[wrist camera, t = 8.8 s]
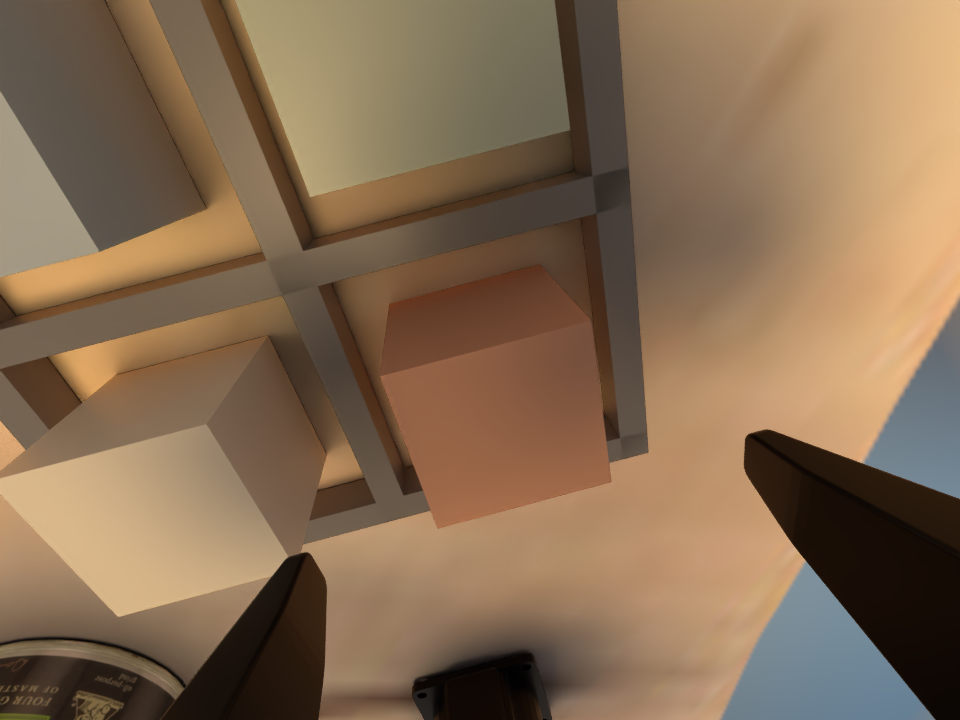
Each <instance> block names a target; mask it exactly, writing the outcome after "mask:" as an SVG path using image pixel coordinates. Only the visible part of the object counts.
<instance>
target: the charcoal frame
mask: <svg viewBox="0 0 960 720" xmlns="http://www.w3.org/2000/svg"><path fill="white" fill-rule="evenodd" d="M149 1H150V3H151V5H152V8H153V10H154V12H155V14H156V17H157V19H158V21H159V23H160V25H161V28H162V30H163V32H164V34H165V36H166V39H167V41H168V43H169V45H170V48H171V50H172V52H173V54H174V56H175V59H176V61H177V63H178V65H179V67H180V70H181V72H182V74H183V76H184V79H185V81H186V83H187V85H188V87H189V90H190V92H191V94H192V96H193V98H194V101H195V103H196V105H197V107H198V110H199V112H200V114H201V116H202V118H203V121H204V123H205V125H206V127H207V129H208V132H209V134H210V136H211V138H212V141H213V143H214V145H215V147H216V149H217V152H218V154H219V156H220V158H221V160H222V163H223V165H224V167H225V169H226V172H227V174H228V176H229V178H230V180H231V183H232V185H233V187H234V189H235V191H236V194H237V196H238V198H239V200H240V203H241V205H242V207H243V209H244V211H245V214H246V216H247V218H248V220H249V222H250V225H251V227H252V229H253V231H254V234H255V236H256V238H257V240H258V242H259V245H260V247H261V249H262V251H263V252H262V253H259V254H255V255H251V256H247V257H243V258H239V259H236V260H232V261H228V262H224V263H220V264H216V265H212V266H209V267H205V268H201V269H197V270H193V271H189V272H185V273H182V274H178V275H174V276H170V277H166V278H162V279H158V280H155V281H151V282H147V283H143V284H139V285H135V286H131V287H128V288H124V289H120V290H116V291H112V292H108V293H104V294H101V295H97V296H93V297H89V298H85V299H81V300H77V301H74V302H70V303H66V304H62V305H58V306H54V307H50V308H47V309H43V310H39V311H35V312H31V313H27V314H23V315H20V316H15V315H14V313H13V312H12V311H11V310H10V308H9V307H8V306H7V304H6V303H5V302H4V300H3V299H2V298H1V296H0V421H1V422H2V423H3V424H4V425H5V427H6V428H7V429H8V430H9V431H10V432H11V433H12V435H13V436H14V437H15V438H16V439H17V440H18V441H19V443H20V444H21V445H22V446H23V447H24V448H25V449H26V450H25V451H24V452H23V453H22V454H21V455H19V456H18V457H17V458H16V459H15V460H13V461H12V462H11V463H10V464H9V465H7V466H6V467H5V468H4V469H3V470H1V471H0V494H1V495H2V497H3V498H4V499H5V500H6V501H7V502H8V503H9V504H10V505H11V506H12V507H13V508H14V509H15V510H16V511H17V512H18V513H19V514H20V515H21V516H22V517H23V518H24V519H25V520H26V522H27V523H28V524H29V525H30V526H31V527H32V528H33V529H34V530H35V531H36V532H37V533H38V534H39V535H40V536H41V537H42V538H43V539H44V540H45V541H46V542H47V543H48V544H49V546H50V547H51V548H52V549H53V550H54V551H55V552H56V553H57V554H58V555H59V556H60V557H61V558H62V559H63V560H64V561H65V562H66V563H67V564H68V565H69V566H70V567H71V568H72V569H73V571H74V572H75V573H76V574H77V575H78V576H79V577H80V578H81V579H82V580H83V581H84V582H85V583H86V584H87V585H88V586H89V587H90V588H91V589H92V590H93V591H94V592H95V593H96V594H97V596H98V597H99V598H100V599H101V600H102V601H103V602H104V603H105V604H106V605H107V606H108V607H109V608H110V609H111V610H112V611H113V612H114V613H115V614H116V615H117V616H118V617H120V616H124V615H128V614H131V613H135V612H139V611H143V610H146V609H150V608H154V607H158V606H161V605H165V604H169V603H172V602H176V601H180V600H184V599H187V598H191V597H195V596H199V595H202V594H206V593H210V592H214V591H217V590H221V589H225V588H229V587H232V586H236V585H240V584H244V583H247V582H251V581H255V580H259V579H262V578H266V577H270V576H273V574H274V573H275V572H276V570H277V569H278V568H279V567H280V565H281V564H282V563H283V561H284V560H285V559H286V558H288V557H290V556H293V555H297V554H300V553H301V550H302V546H303V544H307V543H310V542H314V541H318V540H322V539H325V538H329V537H333V536H337V535H340V534H344V533H348V532H352V531H355V530H359V529H363V528H367V527H370V526H374V525H378V524H382V523H386V522H389V521H393V520H397V519H401V518H404V517H408V516H412V515H416V514H419V513H423V512H427V511H431V510H430V507H429V505H428V502H427V499H426V497H425V494H424V491H423V489H422V486H421V484H420V481H419V478H418V476H417V473H416V470H415V468H414V466H411V467H407V468H404V467H403V464H402V462H401V459H400V456H399V454H398V451H397V449H396V446H395V444H394V441H393V439H392V436H391V434H390V431H389V429H388V426H387V423H386V421H385V418H384V416H383V413H382V411H381V408H380V406H379V403H378V401H377V398H376V396H375V393H374V390H373V388H372V385H371V383H370V380H369V378H368V375H367V373H366V370H365V368H364V365H363V363H362V360H361V357H360V355H359V352H358V350H357V347H356V345H355V342H354V340H353V337H352V335H351V332H350V330H349V327H348V325H347V322H346V319H345V317H344V314H343V312H342V309H341V307H340V304H339V302H338V299H337V297H336V294H335V292H334V289H333V286H332V284H331V283H332V282H336V281H339V280H343V279H347V278H351V277H355V276H359V275H362V274H366V273H370V272H374V271H378V270H382V269H385V268H389V267H393V266H397V265H401V264H405V263H408V262H412V261H416V260H420V259H424V258H428V257H431V256H435V255H439V254H443V253H447V252H451V251H454V250H458V249H462V248H466V247H470V246H474V245H478V244H481V243H485V242H489V241H493V240H497V239H501V238H504V237H508V236H512V235H516V234H520V233H524V232H527V231H531V230H535V229H539V228H543V227H547V226H550V225H554V224H558V223H562V222H566V221H570V220H573V219H577V218H581V222H582V231H583V239H584V247H585V255H586V264H587V272H588V280H589V288H590V297H591V305H592V313H593V322H594V330H595V338H596V346H597V355H598V363H599V371H600V379H601V388H602V396H603V404H604V412H605V415H603V418H604V426H605V434H606V442H607V450H608V458H609V463H611V462H614V461H618V460H622V459H626V458H629V457H633V456H637V455H641V454H644V453H648V438H647V424H646V409H645V395H644V381H643V367H642V352H641V338H640V324H639V310H638V295H637V281H636V267H635V253H634V239H633V224H632V210H631V196H630V182H629V167H628V153H627V139H626V125H625V110H624V96H623V82H622V68H621V53H620V39H619V25H618V11H617V0H235V2H236V5H237V7H238V10H239V12H240V15H241V18H242V20H243V23H244V26H245V28H246V31H247V33H248V36H249V39H250V41H251V44H252V46H253V49H254V52H255V54H256V57H257V60H258V62H259V65H260V67H261V70H262V73H263V75H264V78H265V81H266V83H267V86H268V88H269V91H270V94H271V96H272V99H273V101H274V104H275V107H276V109H277V112H278V115H279V117H280V120H281V122H282V125H283V128H284V130H285V133H286V136H287V138H288V141H289V143H290V146H291V149H292V151H293V154H294V157H295V159H296V162H297V164H298V167H299V170H300V172H301V175H302V177H303V180H304V183H305V185H306V188H307V191H308V193H309V196H310V197H313V196H317V195H321V194H325V193H329V192H333V191H337V190H340V189H344V188H348V187H352V186H356V185H360V184H364V183H368V182H371V181H375V180H379V179H383V178H387V177H391V176H395V175H399V174H402V173H406V172H410V171H414V170H418V169H422V168H426V167H429V166H433V165H437V164H441V163H445V162H449V161H453V160H457V159H460V158H464V157H468V156H472V155H476V154H480V153H484V152H488V151H491V150H495V149H499V148H503V147H507V146H511V145H515V144H518V143H522V142H526V141H530V140H534V139H538V138H542V137H546V136H549V135H553V134H557V133H561V132H565V131H569V130H570V131H571V140H572V148H573V156H574V164H575V172H571V173H567V174H563V175H559V176H556V177H552V178H548V179H544V180H540V181H536V182H532V183H529V184H525V185H521V186H517V187H513V188H509V189H505V190H502V191H498V192H494V193H490V194H486V195H482V196H478V197H475V198H471V199H467V200H463V201H459V202H455V203H451V204H448V205H444V206H440V207H436V208H432V209H428V210H424V211H421V212H417V213H413V214H409V215H405V216H401V217H397V218H394V219H390V220H386V221H382V222H378V223H374V224H370V225H367V226H363V227H359V228H355V229H351V230H347V231H343V232H340V233H336V234H332V235H328V236H324V237H320V238H316V239H314V238H313V236H312V233H311V231H310V228H309V226H308V223H307V220H306V218H305V215H304V213H303V210H302V208H301V205H300V203H299V200H298V198H297V195H296V193H295V190H294V187H293V185H292V182H291V180H290V177H289V175H288V172H287V170H286V167H285V165H284V162H283V160H282V157H281V154H280V152H279V149H278V147H277V144H276V142H275V139H274V137H273V134H272V132H271V129H270V127H269V124H268V122H267V119H266V116H265V114H264V111H263V109H262V106H261V104H260V101H259V99H258V96H257V94H256V91H255V89H254V86H253V83H252V81H251V78H250V76H249V73H248V71H247V68H246V66H245V63H244V61H243V58H242V56H241V53H240V50H239V48H238V45H237V43H236V40H235V38H234V35H233V33H232V30H231V28H230V25H229V23H228V20H227V17H226V15H225V12H224V10H223V7H222V5H221V2H220V0H149ZM555 7H556V8H555ZM557 24H558V25H557ZM558 32H559V33H558ZM559 40H560V41H559ZM560 49H561V50H560ZM561 57H562V58H561ZM562 65H563V66H562ZM563 73H564V74H563ZM564 82H565V83H564ZM565 90H566V91H565ZM566 98H567V99H566ZM568 115H569V116H568ZM569 123H570V124H569ZM203 210H206V207H205V205H204V203H203V201H202V199H201V197H200V195H199V193H198V191H197V189H196V187H195V185H194V183H193V181H192V179H191V177H190V175H189V172H188V170H187V168H186V166H185V164H184V162H183V160H182V158H181V156H180V154H179V152H178V150H177V148H176V146H175V144H174V142H173V140H172V138H171V136H170V134H169V131H168V129H167V127H166V125H165V123H164V121H163V119H162V117H161V115H160V113H159V111H158V109H157V107H156V105H155V103H154V101H153V99H152V97H151V95H150V93H149V91H148V88H147V86H146V84H145V82H144V80H143V78H142V76H141V74H140V72H139V70H138V68H137V66H136V64H135V62H134V60H133V58H132V56H131V54H130V52H129V50H128V47H127V45H126V43H125V41H124V39H123V37H122V35H121V33H120V31H119V29H118V27H117V25H116V23H115V21H114V19H113V17H112V15H111V13H110V11H109V9H108V7H107V4H106V2H105V0H0V277H4V276H8V275H11V274H15V273H19V272H23V271H27V270H31V269H35V268H39V267H42V266H46V265H50V264H54V263H58V262H62V261H66V260H69V259H73V258H77V257H81V256H85V255H89V254H93V253H97V252H100V251H103V250H105V249H108V248H110V247H113V246H115V245H118V244H120V243H123V242H125V241H128V240H130V239H133V238H135V237H138V236H140V235H143V234H145V233H148V232H150V231H153V230H155V229H158V228H160V227H163V226H165V225H168V224H170V223H173V222H176V221H178V220H181V219H183V218H186V217H188V216H191V215H193V214H196V213H198V212H201V211H203ZM278 296H283V298H284V300H285V302H286V304H287V307H288V309H289V311H290V313H291V315H292V318H293V320H294V322H295V324H296V327H297V329H298V331H299V333H300V335H301V338H302V340H303V342H304V344H305V346H306V349H307V351H308V353H309V355H310V358H311V360H312V362H313V364H314V366H315V369H316V371H317V373H318V375H319V377H320V380H321V382H322V384H323V386H324V389H325V391H326V393H327V395H328V397H329V400H330V402H331V404H332V406H333V408H334V411H335V413H336V415H337V417H338V420H339V422H340V424H341V426H342V428H343V431H344V433H345V435H346V437H347V439H348V442H349V444H350V446H351V448H352V451H353V453H354V455H355V457H356V459H357V462H358V464H359V466H360V468H361V470H362V473H363V475H364V477H365V479H362V480H358V481H355V482H351V483H347V484H343V485H339V486H336V487H332V488H328V489H324V490H321V491H317V489H318V485H319V482H320V478H321V474H322V470H323V467H324V463H325V459H326V453H325V451H324V449H323V447H322V445H321V443H320V441H319V439H318V437H317V435H316V433H315V431H314V429H313V427H312V424H311V422H310V420H309V418H308V416H307V414H306V412H305V410H304V408H303V406H302V404H301V402H300V400H299V398H298V396H297V394H296V392H295V390H294V388H293V386H292V383H291V381H290V379H289V377H288V375H287V373H286V371H285V369H284V367H283V365H282V363H281V361H280V359H279V357H278V355H277V353H276V351H275V349H274V347H273V345H272V343H271V340H270V338H269V336H264V337H260V338H257V339H253V340H249V341H245V342H241V343H237V344H234V345H230V346H226V347H222V348H218V349H215V350H211V351H207V352H203V353H199V354H195V355H192V356H188V357H184V358H180V359H176V360H172V361H169V362H165V363H161V364H157V365H153V366H149V367H146V368H142V369H138V370H134V371H130V372H127V373H123V374H119V375H115V376H114V377H113V378H112V379H110V380H109V381H108V382H107V383H106V384H104V385H103V386H102V387H101V388H100V389H98V390H97V391H96V392H95V393H94V394H92V395H91V396H90V397H89V398H88V399H87V400H85V401H84V402H83V403H82V404H81V402H80V401H79V400H78V398H77V397H76V396H75V394H74V393H73V392H72V390H71V389H70V388H69V386H68V385H67V384H66V382H65V381H64V380H63V378H62V377H61V376H60V374H59V373H58V372H57V370H56V369H55V368H54V366H53V365H52V364H51V362H50V361H49V360H48V359H47V357H48V356H51V355H55V354H59V353H63V352H67V351H71V350H74V349H78V348H82V347H86V346H90V345H94V344H98V343H101V342H105V341H109V340H113V339H117V338H121V337H124V336H128V335H132V334H136V333H140V332H144V331H147V330H151V329H155V328H159V327H163V326H167V325H170V324H174V323H178V322H182V321H186V320H190V319H193V318H197V317H201V316H205V315H209V314H213V313H217V312H220V311H224V310H228V309H232V308H236V307H240V306H243V305H247V304H251V303H255V302H259V301H263V300H266V299H270V298H274V297H278Z"/></svg>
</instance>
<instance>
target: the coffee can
mask: <svg viewBox="0 0 960 720" xmlns="http://www.w3.org/2000/svg"><path fill="white" fill-rule="evenodd" d="M183 690H184V687H183V686H182V685H181V683H180V682H179V681H178V680H177V678H175V677H174V676H173V675H172V674H171V673H169V672H168V671H167V670H165V669H164V668H162V667H161V666H159V665H157V664H156V663H154V662H152V661H150V660H148V659H146V658H144V657H141V656H139V655H136V654H134V653H131V652H128V651H126V650H123V649H120V648H116V647H111V646H106V645H102V644H97V643H91V642H84V641H75V640H64V639H41V640H27V641H19V642H14V643H9V644H5V645H0V720H160V719H161V718H162V716H163V715H164V714H165V713H166V711H167V710H168V709H169V707H170V706H171V705H172V704H173V702H174V701H175V700H176V698H177V697H178V696H179V695H180V693H181V692H182V691H183Z"/></svg>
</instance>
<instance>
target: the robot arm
mask: <svg viewBox="0 0 960 720" xmlns="http://www.w3.org/2000/svg"><path fill="white" fill-rule="evenodd" d="M744 469H745V472H746V474H747V476H748V478H749V480H750V481H751V483H752V484H753V486H754V487H755V489H756V490H757V492H758V493H759V495H760V496H761V498H762V499H763V501H764V502H765V504H766V505H767V507H768V508H769V510H770V511H771V513H772V514H773V516H774V517H775V519H776V520H777V522H778V523H779V525H780V526H781V528H782V529H783V531H784V532H785V534H786V535H787V537H788V538H789V540H790V541H791V542H792V544H793V545H794V546H795V548H796V549H797V550H798V552H799V553H800V554H801V555H802V557H803V558H804V559H805V560H806V562H807V563H808V564H809V565H810V566H811V568H812V569H813V570H814V571H815V573H816V574H817V575H818V576H819V577H820V579H821V580H822V581H823V582H824V584H826V586H827V587H828V588H829V590H830V591H831V592H832V593H833V595H834V596H835V597H836V598H837V599H838V601H839V602H840V603H841V604H842V606H843V607H844V608H845V609H846V611H847V612H848V613H849V614H850V615H851V617H852V618H853V619H854V620H855V622H856V623H857V624H858V625H859V627H860V628H861V629H862V630H863V631H864V633H865V634H866V635H867V636H868V638H869V639H870V640H871V641H872V642H873V644H874V645H875V646H876V647H877V649H878V650H879V651H880V652H881V653H882V655H883V656H884V657H885V658H886V660H887V661H888V662H889V663H890V664H891V666H892V667H893V668H894V669H895V671H896V672H897V673H898V674H899V675H900V677H901V678H902V679H903V680H904V682H905V683H906V684H907V685H908V687H909V688H910V689H911V690H912V692H913V693H914V694H915V695H916V696H917V697H918V699H919V700H920V701H921V703H922V704H923V705H924V706H925V707H926V709H927V710H928V711H929V712H930V714H931V715H932V716H933V717H934V719H935V720H960V499H958V498H956V497H953V496H950V495H947V494H945V493H942V492H939V491H936V490H934V489H931V488H928V487H925V486H923V485H920V484H917V483H914V482H912V481H909V480H906V479H903V478H901V477H898V476H895V475H892V474H890V473H887V472H884V471H882V470H879V469H876V468H873V467H871V466H868V465H865V464H863V463H860V462H857V461H854V460H852V459H849V458H846V457H843V456H841V455H838V454H835V453H832V452H830V451H827V450H824V449H821V448H819V447H816V446H813V445H811V444H808V443H805V442H802V441H800V440H797V439H794V438H791V437H789V436H786V435H783V434H780V433H778V432H775V431H772V430H761V431H757V432H754V433H750V434H748V435H747V436H746V438H745V451H744ZM326 604H327V585H326V581H325V578H324V576H323V574H322V572H321V571H320V569H319V567H318V566H317V564H316V562H315V560H314V559H313V557H312V556H311V554H309V553H307V552H304V553H300V554H297V555H293V556H290V557H288V558H286V559H285V560H284V561H283V563H282V564H281V565H280V567H279V568H278V569H277V570H276V572H275V573H274V574H273V576H272V577H271V578H270V579H269V581H268V582H267V583H266V585H265V586H264V587H263V588H262V590H261V591H260V592H259V593H258V595H257V596H256V597H255V599H254V600H253V601H252V602H251V604H250V605H249V606H248V608H247V609H246V610H245V611H244V613H243V614H242V615H241V617H240V618H239V619H238V620H237V622H236V623H235V624H234V625H233V627H232V628H231V629H230V631H229V632H228V633H227V634H226V636H225V637H224V638H223V640H222V641H221V642H220V643H219V645H218V646H217V647H216V649H215V650H214V651H213V652H212V654H211V655H210V656H209V658H208V659H207V660H206V661H205V663H204V664H203V665H202V666H201V668H200V669H199V670H198V672H197V673H196V674H195V675H194V677H193V678H192V679H191V681H190V682H189V683H188V684H187V686H186V687H185V688H184V690H183V691H182V692H181V693H180V695H179V696H178V697H177V698H176V700H175V701H174V702H173V704H172V705H171V706H170V707H169V709H168V710H167V711H166V713H165V714H164V715H163V716H162V718H161V719H160V720H318V718H319V710H320V702H321V695H322V687H323V678H324V668H325V642H326ZM412 697H413V700H414V702H415V703H416V705H417V707H418V709H419V711H420V713H421V714H422V716H423V718H424V720H552V716H551V712H550V708H549V705H548V702H547V698H546V695H545V691H544V688H543V685H542V681H541V678H540V675H539V671H538V668H537V664H536V661H535V658H534V656H533V655H532V654H528V653H526V654H521V655H517V656H514V657H510V658H506V659H503V660H499V661H495V662H491V663H488V664H484V665H480V666H477V667H473V668H469V669H466V670H462V671H458V672H454V673H451V674H447V675H443V676H440V677H436V678H432V679H429V680H425V681H421V682H418V683H416V684H415V685H413V687H412Z"/></svg>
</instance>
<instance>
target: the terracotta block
mask: <svg viewBox="0 0 960 720" xmlns="http://www.w3.org/2000/svg"><path fill="white" fill-rule="evenodd" d="M380 379H381V381H382V384H383V386H384V389H385V392H386V394H387V397H388V400H389V402H390V405H391V407H392V410H393V413H394V415H395V418H396V421H397V423H398V426H399V428H400V431H401V434H402V436H403V439H404V442H405V444H406V447H407V449H408V452H409V455H410V457H411V460H412V463H413V465H414V468H415V470H416V473H417V476H418V478H419V481H420V484H421V486H422V489H423V491H424V494H425V497H426V499H427V502H428V505H429V507H430V510H431V512H432V515H433V518H434V520H435V523H436V526H437V528H442V527H445V526H449V525H453V524H456V523H460V522H464V521H468V520H471V519H475V518H479V517H483V516H486V515H490V514H494V513H497V512H501V511H505V510H509V509H512V508H516V507H520V506H524V505H527V504H531V503H535V502H539V501H542V500H546V499H550V498H553V497H557V496H561V495H565V494H568V493H572V492H576V491H580V490H583V489H587V488H591V487H595V486H598V485H602V484H606V483H609V482H611V474H610V466H609V458H608V450H607V442H606V434H605V426H604V418H603V410H602V402H601V394H600V386H599V378H598V370H597V361H596V353H595V345H594V337H593V329H592V321H591V320H590V319H589V318H588V316H587V315H586V314H585V313H584V312H583V311H582V310H581V309H580V308H579V307H578V306H577V304H576V303H575V302H574V301H573V300H572V299H571V298H570V297H569V296H568V295H567V294H566V293H565V291H564V290H563V289H562V288H561V287H560V286H559V285H558V284H557V283H556V282H555V281H554V279H553V278H552V277H551V276H550V275H549V274H548V273H547V272H546V271H545V270H544V269H543V268H542V266H541V265H536V266H532V267H528V268H524V269H521V270H517V271H513V272H509V273H505V274H501V275H498V276H494V277H490V278H486V279H482V280H479V281H475V282H471V283H467V284H463V285H460V286H456V287H452V288H448V289H444V290H440V291H437V292H433V293H429V294H425V295H421V296H418V297H414V298H410V299H406V300H402V301H398V302H395V303H391V304H389V311H388V319H387V326H386V334H385V341H384V349H383V356H382V364H381V371H380Z"/></svg>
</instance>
